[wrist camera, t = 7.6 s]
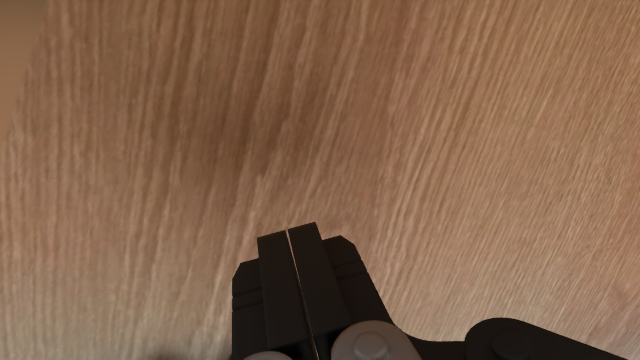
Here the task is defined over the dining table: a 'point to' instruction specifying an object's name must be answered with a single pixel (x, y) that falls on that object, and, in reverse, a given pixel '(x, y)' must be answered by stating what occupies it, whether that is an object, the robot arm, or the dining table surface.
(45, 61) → the dining table surface
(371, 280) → the robot arm
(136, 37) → the dining table surface
